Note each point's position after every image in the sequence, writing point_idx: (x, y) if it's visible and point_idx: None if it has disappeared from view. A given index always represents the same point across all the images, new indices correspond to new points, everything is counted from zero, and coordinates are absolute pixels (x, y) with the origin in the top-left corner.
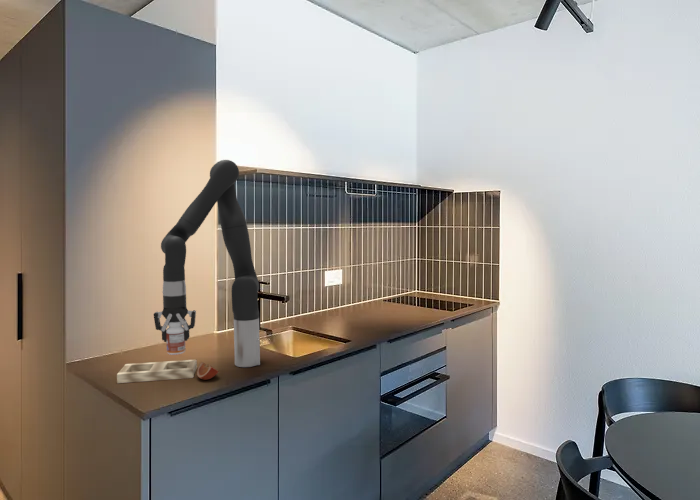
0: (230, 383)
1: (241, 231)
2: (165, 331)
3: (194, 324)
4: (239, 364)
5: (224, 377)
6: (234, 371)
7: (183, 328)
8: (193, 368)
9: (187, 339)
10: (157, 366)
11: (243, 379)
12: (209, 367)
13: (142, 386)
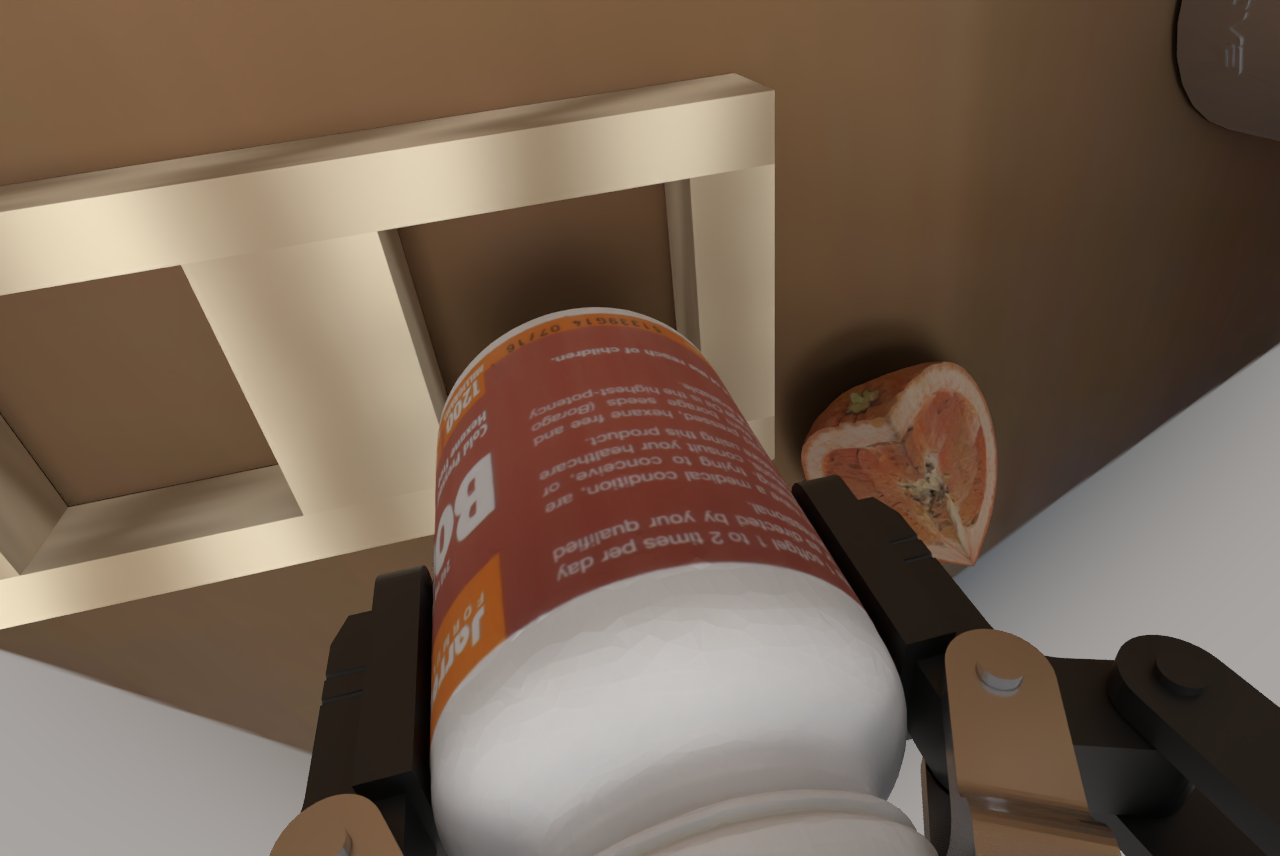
0: (1025, 507)
1: None
2: (440, 852)
3: (1233, 709)
4: (1222, 116)
5: (1003, 396)
6: (1112, 244)
7: (895, 781)
8: (770, 408)
9: (831, 481)
10: (318, 385)
11: (1126, 434)
12: (952, 547)
13: (357, 600)
